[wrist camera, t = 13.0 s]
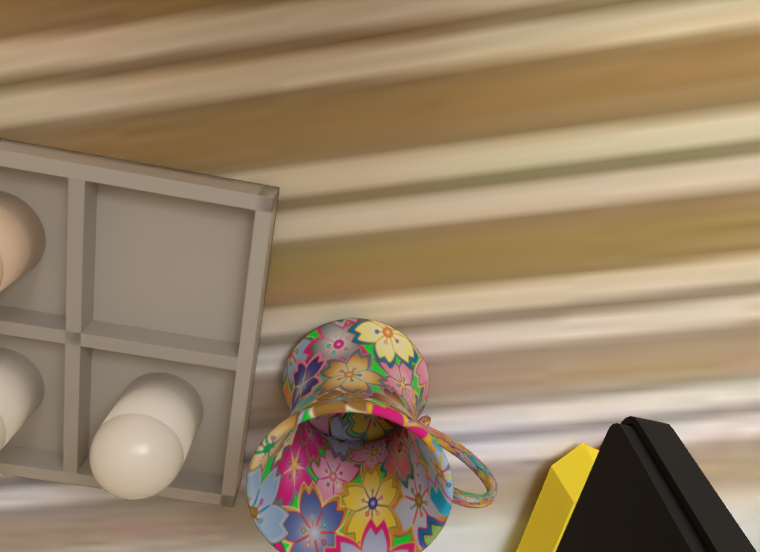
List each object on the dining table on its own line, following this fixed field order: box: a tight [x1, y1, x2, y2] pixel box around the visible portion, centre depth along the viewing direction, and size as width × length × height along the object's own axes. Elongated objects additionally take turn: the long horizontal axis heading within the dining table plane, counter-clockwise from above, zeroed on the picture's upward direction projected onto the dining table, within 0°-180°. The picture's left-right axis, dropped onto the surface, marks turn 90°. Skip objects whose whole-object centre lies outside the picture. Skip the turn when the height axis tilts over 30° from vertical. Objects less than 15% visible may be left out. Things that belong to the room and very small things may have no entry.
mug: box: [246, 319, 497, 552], centre depth 35 cm, size 12×9×11 cm
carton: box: [0, 138, 279, 507], centre depth 37 cm, size 19×19×2 cm
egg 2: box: [89, 372, 204, 500], centre depth 37 cm, size 5×5×7 cm
